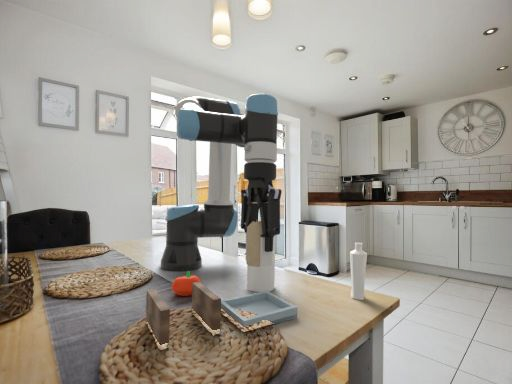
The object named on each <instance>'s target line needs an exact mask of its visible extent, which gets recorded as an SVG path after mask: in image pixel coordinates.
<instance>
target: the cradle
mask: <svg viewBox="0 0 512 384" xmlns="http://www.w3.org/2000/svg"><path fill="white" fill-rule="evenodd" d="M221 300H222V298H221V297H220V296H219V295H217V294H215V292H214V291H212V290H211V289H210V288H208V287H207V286H205V285H204V284H203V283H202V282H201V283H200V282H194V283H192V295H191V310H192V309H193V310H194V311H195V312H196V313H197V314H198V315H199V316H200V317H201V318H202V320H203V321H204V322H205V323H206V324H207V325H208V326H209V327H210V328H211V329H212V330H217V329H220V330H221V324H222V323H221V321H222V319H221V315H222V314H221ZM145 303H146V304H145V306H146V307H145V321H146V320H147V322H148V323H149V325H150V327H151V329H152V331H153V333H154V335H155V337H156V339H157V341H158V342H159V344H160V345H162V344H165V343H169V344H170V326H171V325H170V323H171V317H170V316H171V315H170V314H171V309H170V307H169V305H168V304H167V303H166V302H165V301H164V299H163V298H162V296H161V295H160V294H159V293H158V291H157V290H156V289H155V288H150V289H146V302H145Z"/></svg>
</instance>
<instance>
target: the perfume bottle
mask: <svg viewBox="0 0 512 384" xmlns="http://www.w3.org/2000/svg"><path fill="white" fill-rule="evenodd" d="M363 244H364V243H363V242H354V249H353V250H351V251H350V250H349V262H350V266H349V267H350V279H351V281H350V283H351V286H350V287H351V292H350V295H349V296H350V297H351V299H354V300H358V301H363V300H365V298H366V295H365V281H366V271H367V270H366V269H367V261H368V260H367V259H368V252H365V251H364V250H363Z"/></svg>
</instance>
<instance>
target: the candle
mask: <svg viewBox="0 0 512 384" xmlns="http://www.w3.org/2000/svg"><path fill="white" fill-rule="evenodd" d="M267 231H268V230H267ZM262 234H263V231H262V224H261V220H257V222H254V221H253V222H252V223H251V224H250V225H249V226H248V227H247V254H246V253H245V262H246V265H249V266H254V267H261V266H260V237H261V236H260V235H262Z"/></svg>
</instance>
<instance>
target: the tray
mask: <svg viewBox="0 0 512 384" xmlns="http://www.w3.org/2000/svg"><path fill="white" fill-rule="evenodd" d="M233 308H234V309H233ZM221 309H223V310H224V311H225V312H226V313H227V314H228V315H229V316H231V317H232V318H233V319H234V320H236V321H237V322H238V323H240V324H241V325H242V326H243V327H246V326H249V325H252V324H255V323H258V322H260V321H262V320H268V321H270V322H272V323H274V325H276V324H280V323H283V322H287V321H290V320H294V319H297V318H298V306H297V305H294V304H292V303H290V302H289V301H287V300H285V299H283V298H281V297H280V296H278V295H276V294H274V293H272V292H271V291H269V292H268V291H264V292H255V293H251V294H250V293H249V294H246V295H245V294H244V295H241V296H235V297H232V298H231V297H229V298H225V299H221ZM235 309H241V310H245V311H249V312H252V313H255V314H258V315H256V316H252V317H248V318H245V317H244V316H242V315H241V314H240V313H239V312H237V311H236V310H235Z"/></svg>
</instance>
